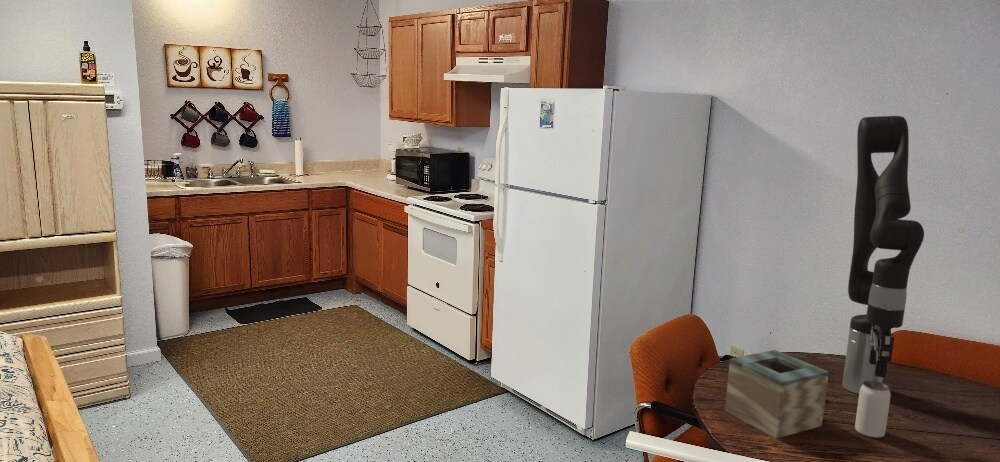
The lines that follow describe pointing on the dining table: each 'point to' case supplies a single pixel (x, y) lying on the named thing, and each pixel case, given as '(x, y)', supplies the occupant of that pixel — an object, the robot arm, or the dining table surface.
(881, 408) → the can
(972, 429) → the dining table surface
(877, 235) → the robot arm
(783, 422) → the drop box
